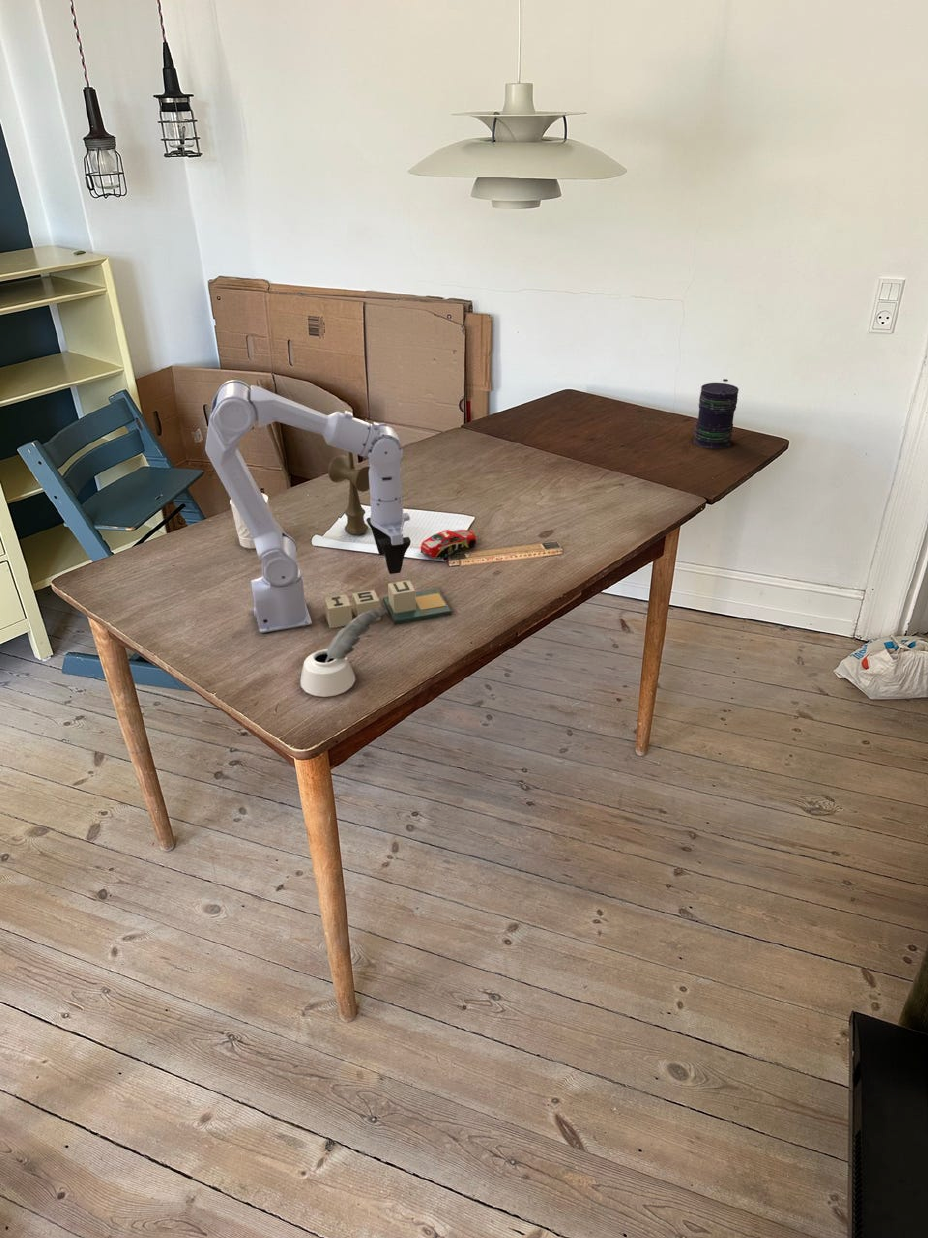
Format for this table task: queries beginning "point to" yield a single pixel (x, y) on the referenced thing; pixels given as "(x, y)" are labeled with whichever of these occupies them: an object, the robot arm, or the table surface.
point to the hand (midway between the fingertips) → (389, 563)
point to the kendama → (351, 490)
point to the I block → (338, 611)
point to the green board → (421, 607)
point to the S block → (365, 602)
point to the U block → (402, 596)
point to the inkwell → (336, 659)
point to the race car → (447, 543)
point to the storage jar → (716, 415)
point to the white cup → (244, 526)
